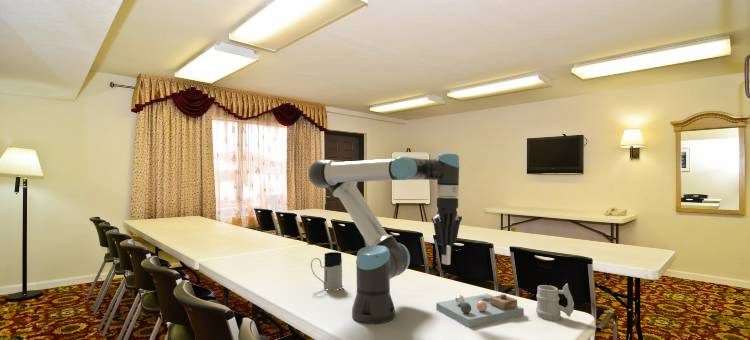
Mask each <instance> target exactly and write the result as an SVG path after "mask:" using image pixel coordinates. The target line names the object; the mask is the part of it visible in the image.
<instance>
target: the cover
mask: <svg viewBox="0 0 750 340" xmlns="http://www.w3.org/2000/svg"><path fill="white" fill-rule="evenodd" d="M493 296H494V295H493ZM490 304H491V305H493V306H495V307H498V308H500V309H502V310H506V309H511V308H515V307H517V306H518V299H516V298H513V297H510V296H508V295H506V294H504V293H503V294H499V295H495V296H494V297H490Z"/></svg>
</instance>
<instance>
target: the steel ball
mask: <svg viewBox="0 0 750 340" xmlns="http://www.w3.org/2000/svg"><path fill="white" fill-rule="evenodd" d="M464 298H465V297H464V295H461V294H459V295H456V296H455V298H454V300H455V302H456V304H457V305H459V306H461V304H462V303H464V302H465V299H464Z"/></svg>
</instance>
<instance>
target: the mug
mask: <svg viewBox="0 0 750 340" xmlns="http://www.w3.org/2000/svg"><path fill="white" fill-rule="evenodd" d="M559 294H561V295H564V297H565V298H566V299H567V305H566V306H565V307H564V306H563V305H561V304H560V303H559V301H560V296H559ZM536 300H537V302H536V305H537V306H536V307H535V311H536V315H537V317H538V318H540V319H543V320H547V321H557V320H560V317H561V315H562V313H561V312H563V313H564V314H565V315H566V316H567V317H571V315H572V314H573V313H574V306H575V302H574V300H573V296H572V294H571V291H570V289H569V284H568V283H565V285H564V286H562V289H558V287H556V286H553V285H547V284H545V285H544V284H542V285H541V284H540V285H537V294H536Z"/></svg>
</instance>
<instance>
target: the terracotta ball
mask: <svg viewBox="0 0 750 340" xmlns="http://www.w3.org/2000/svg"><path fill="white" fill-rule="evenodd" d="M477 309H478V310H479V311H481V312H483V311H486V309H487V304H486V302H484V301H479V302H478V303H477Z"/></svg>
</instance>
